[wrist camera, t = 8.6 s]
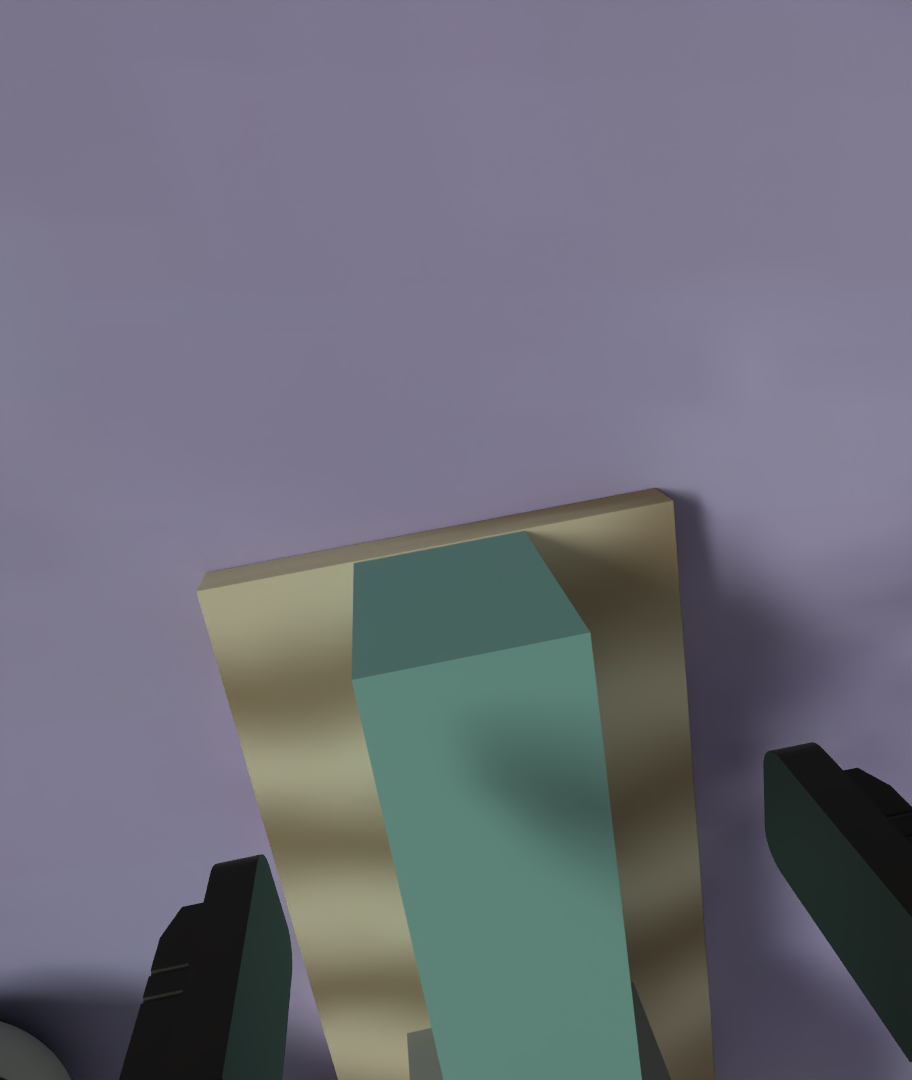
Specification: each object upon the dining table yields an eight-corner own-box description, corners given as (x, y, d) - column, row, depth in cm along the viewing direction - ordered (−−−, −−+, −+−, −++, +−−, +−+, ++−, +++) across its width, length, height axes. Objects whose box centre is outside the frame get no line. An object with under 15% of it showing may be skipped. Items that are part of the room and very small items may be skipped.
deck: (205, 573, 24) (190, 603, 22) (655, 487, 25) (685, 509, 23) (429, 1363, 37) (434, 1433, 35) (719, 1290, 38) (742, 1355, 36)
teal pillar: (353, 563, 23) (351, 680, 16) (524, 531, 23) (590, 632, 17) (453, 1024, 29) (481, 1248, 22) (588, 994, 29) (656, 1205, 22)
